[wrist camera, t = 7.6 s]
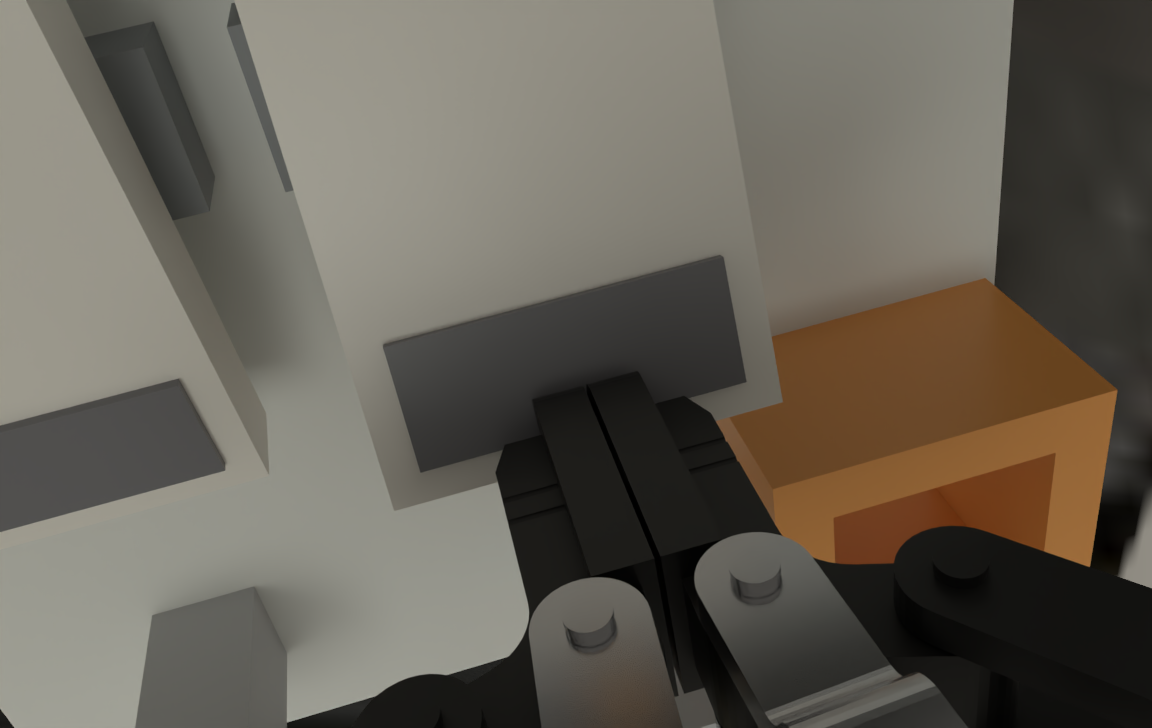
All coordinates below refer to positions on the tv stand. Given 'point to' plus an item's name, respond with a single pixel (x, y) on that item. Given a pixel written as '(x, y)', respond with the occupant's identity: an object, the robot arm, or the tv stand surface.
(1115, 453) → the tv stand surface
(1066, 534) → the orange hollow square block
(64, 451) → the breaker
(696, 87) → the block
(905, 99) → the panel
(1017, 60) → the tv stand surface
